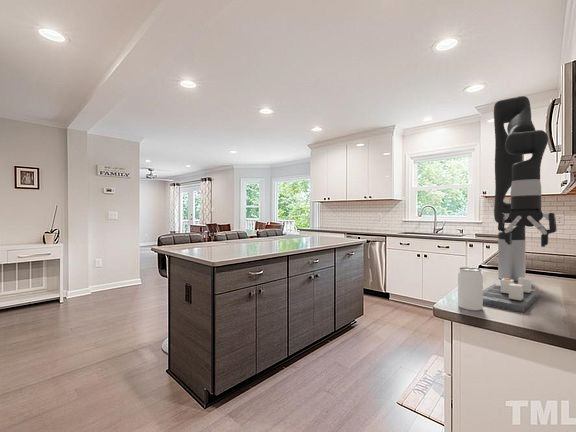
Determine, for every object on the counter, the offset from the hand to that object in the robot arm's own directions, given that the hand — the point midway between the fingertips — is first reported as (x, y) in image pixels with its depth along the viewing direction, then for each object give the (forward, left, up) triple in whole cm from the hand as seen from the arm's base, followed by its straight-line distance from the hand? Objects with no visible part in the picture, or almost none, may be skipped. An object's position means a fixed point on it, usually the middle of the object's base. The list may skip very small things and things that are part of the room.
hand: (525, 245), depth 93 cm
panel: (0, -5, -18) cm, 19 cm away
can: (+18, -10, -19) cm, 28 cm away
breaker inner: (-6, -1, -16) cm, 17 cm away
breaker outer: (+6, -1, -16) cm, 17 cm away
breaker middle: (0, -5, -16) cm, 17 cm away
